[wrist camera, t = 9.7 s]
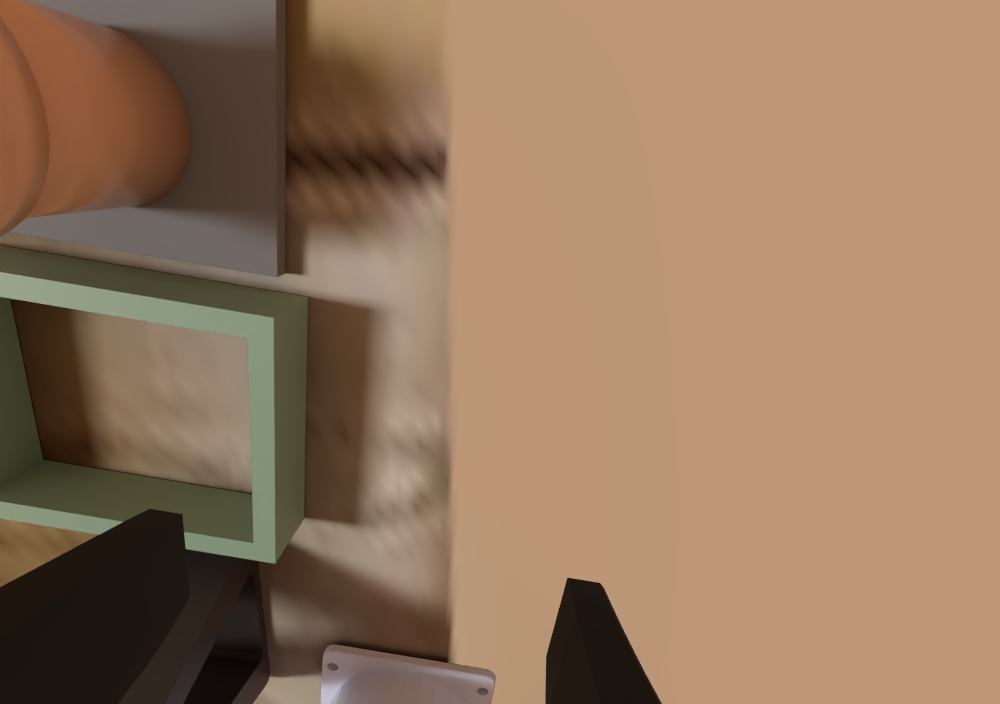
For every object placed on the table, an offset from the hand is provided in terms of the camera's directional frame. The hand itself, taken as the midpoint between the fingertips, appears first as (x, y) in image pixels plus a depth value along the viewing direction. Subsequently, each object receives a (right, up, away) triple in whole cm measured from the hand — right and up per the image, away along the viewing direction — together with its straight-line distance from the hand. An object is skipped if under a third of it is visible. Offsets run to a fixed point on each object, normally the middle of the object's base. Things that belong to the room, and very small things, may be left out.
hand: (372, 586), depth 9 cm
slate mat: (-9, +12, +6) cm, 16 cm away
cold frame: (-11, +3, +10) cm, 15 cm away
